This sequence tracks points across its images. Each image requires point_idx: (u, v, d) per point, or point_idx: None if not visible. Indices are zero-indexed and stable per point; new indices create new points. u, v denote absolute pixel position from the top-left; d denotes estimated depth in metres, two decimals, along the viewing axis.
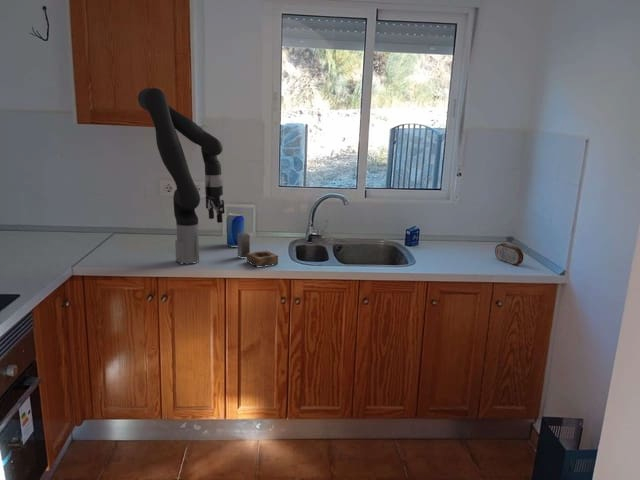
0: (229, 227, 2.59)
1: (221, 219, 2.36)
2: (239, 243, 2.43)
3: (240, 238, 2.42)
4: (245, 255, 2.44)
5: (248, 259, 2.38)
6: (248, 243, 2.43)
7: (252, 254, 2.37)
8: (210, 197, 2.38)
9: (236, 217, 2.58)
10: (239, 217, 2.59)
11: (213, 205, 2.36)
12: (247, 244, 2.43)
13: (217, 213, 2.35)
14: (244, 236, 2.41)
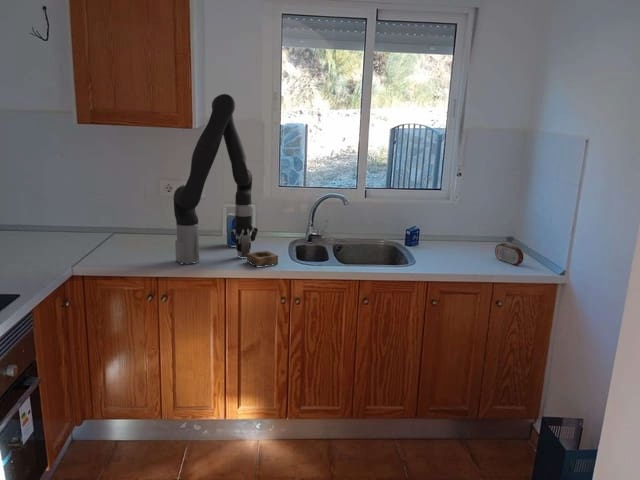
0: (229, 227, 2.59)
1: None
2: None
3: None
4: (245, 255, 2.44)
5: (248, 259, 2.38)
6: (248, 243, 2.43)
7: (252, 254, 2.37)
8: (241, 227, 2.40)
9: None
10: None
11: (248, 233, 2.43)
12: (247, 244, 2.43)
13: (250, 241, 2.45)
14: (244, 236, 2.41)
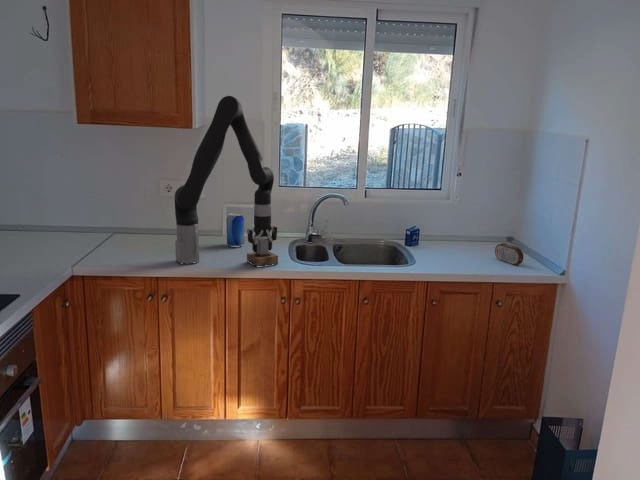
0: (229, 227, 2.59)
1: None
2: (258, 248, 2.35)
3: (259, 243, 2.34)
4: None
5: (248, 259, 2.38)
6: (267, 248, 2.36)
7: (252, 254, 2.37)
8: (260, 228, 2.32)
9: (236, 217, 2.58)
10: (239, 217, 2.59)
11: (268, 234, 2.35)
12: (266, 249, 2.36)
13: (272, 240, 2.37)
14: (263, 241, 2.34)
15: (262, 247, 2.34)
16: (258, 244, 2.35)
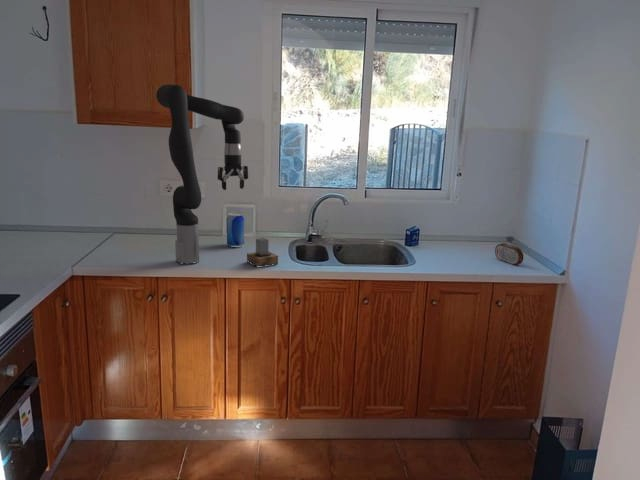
0: (229, 227, 2.59)
1: None
2: (258, 248, 2.35)
3: (259, 243, 2.34)
4: None
5: (248, 259, 2.38)
6: (267, 248, 2.36)
7: (252, 254, 2.37)
8: (230, 166, 2.42)
9: (236, 217, 2.58)
10: (239, 217, 2.59)
11: (239, 172, 2.44)
12: (266, 249, 2.36)
13: (244, 179, 2.47)
14: (263, 241, 2.34)
15: (262, 247, 2.34)
16: (258, 244, 2.35)
